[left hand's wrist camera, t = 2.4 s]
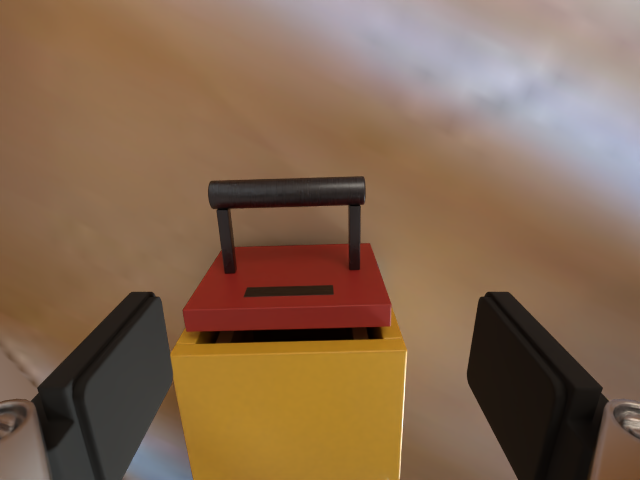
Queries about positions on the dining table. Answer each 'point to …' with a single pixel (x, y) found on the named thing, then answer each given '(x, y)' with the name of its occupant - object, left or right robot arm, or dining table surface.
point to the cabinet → (292, 406)
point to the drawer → (289, 271)
